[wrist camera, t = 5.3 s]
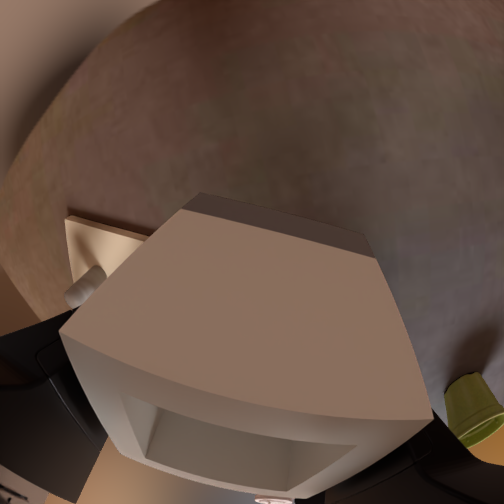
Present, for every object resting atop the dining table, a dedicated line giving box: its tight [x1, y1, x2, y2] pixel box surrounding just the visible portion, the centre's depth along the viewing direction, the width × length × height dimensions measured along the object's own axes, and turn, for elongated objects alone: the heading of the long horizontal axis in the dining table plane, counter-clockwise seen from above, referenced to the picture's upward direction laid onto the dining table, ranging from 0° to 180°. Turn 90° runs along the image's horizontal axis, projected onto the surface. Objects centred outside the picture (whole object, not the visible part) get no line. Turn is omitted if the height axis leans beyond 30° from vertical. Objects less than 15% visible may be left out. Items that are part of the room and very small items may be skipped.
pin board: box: [64, 215, 149, 309], centre depth 22 cm, size 18×10×6 cm, turn 78°
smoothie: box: [255, 494, 293, 504], centre depth 33 cm, size 6×6×14 cm
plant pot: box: [444, 372, 504, 448], centre depth 22 cm, size 9×9×9 cm
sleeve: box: [59, 193, 434, 499], centre depth 6 cm, size 5×5×6 cm
